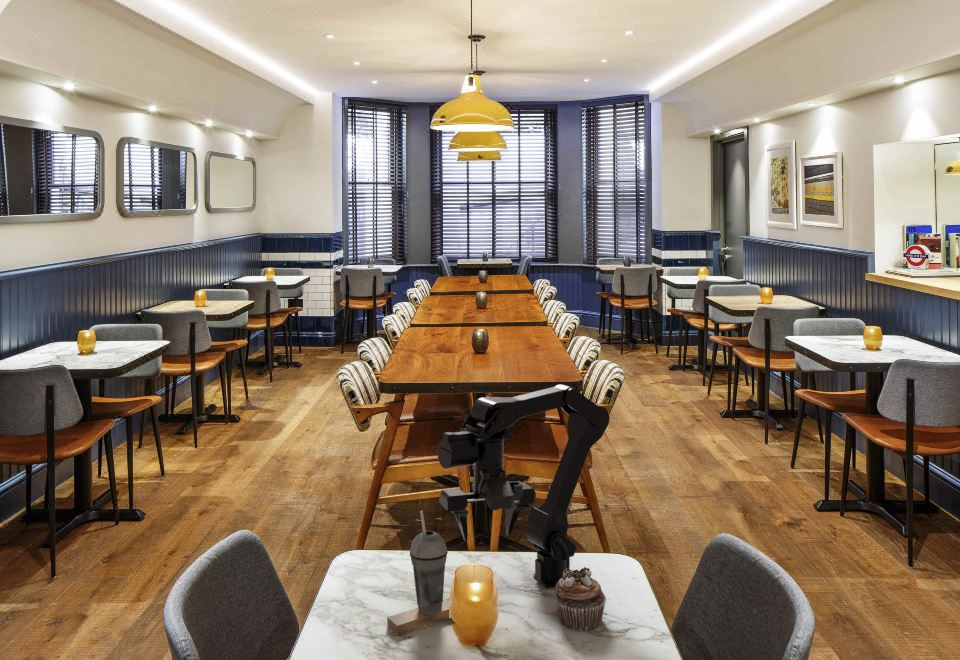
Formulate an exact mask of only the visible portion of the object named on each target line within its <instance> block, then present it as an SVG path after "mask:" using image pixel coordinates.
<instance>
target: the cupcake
mask: <svg viewBox="0 0 960 660" xmlns="http://www.w3.org/2000/svg"><path fill="white" fill-rule="evenodd" d="M592 573H593V572H592V570H590V568H587V567H586V566H584V567H582V568H581V569H579V570H578V569H574V570H572V569H568V568H566V569H565V571H564V572H563V578H561V579H560V580H559V581H558V582H557V584H556V586H555V592H554V599H555V604H556V607H557V608H556V609H557V614H558V616H559V621H560V623H561V625H562V626H563V627H564V628H566V629H568V630H573V631H576V632H577V631H579V632H584V631H585V632H588V631H593V630H595V629H597V628H599V627H600V626H601V624H602V621H603V616H604V610H605V606H606V601H607V596H606V595H605V594H604V592H603V590H602V586H601V584H600V583H599V582H598V580H596V579H594V578H592V577H591V576H592Z"/></svg>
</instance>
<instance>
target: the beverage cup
mask: <svg viewBox="0 0 960 660" xmlns="http://www.w3.org/2000/svg"><path fill="white" fill-rule="evenodd" d="M423 511H424V510H419V514H420V519H421V526H422V532H419V533H418V534H416V536H415V537H414V539H412V543H411V545H410V550H409V556H410V560H411V565H412V570H413V577H414V587H415V595H416V604H417V608H418V609H419V612H420V613H421V614H424V615H434V614H437V613H439V612H440V611H441V610H442V602H443V600H444V599H443V598H444V586H445V585H444V583H445V573H446V571H445V570H446V569H445V568H446V562H447V558H448V557H447V555H448V548H447V544H446V541H445V540H444V537H442V536H441V535H440V533H438V532H436V531H432V530H426V525H425V517H424V512H423Z"/></svg>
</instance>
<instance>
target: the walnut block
mask: <svg viewBox="0 0 960 660" xmlns="http://www.w3.org/2000/svg"><path fill="white" fill-rule="evenodd" d="M450 598H451V597H448V598H445V599H443V602H442V610H441V611H440V612H439V613H437V614H434V615H424V614H421V613H420V612H419V609H418V607H415V608H413V609H409V610H406V611H403V612H399V613H397V614H394V615H389V616H387V617H386V618H387V619H386V620H387V628H388V629H389V630H390V631H391V632H392V633H394V634H395V635H396V636H402V635H405V634H406V633H407V632H408V633H411V632H414V631H416V629H417V630H419V629H423V628H425V626H426V627H429V626H432V625H435V624H437V623H440V622H444V621H446V620H447V621H448V620H449V601H450ZM431 624H432V625H431ZM428 625H429V626H428ZM422 627H423V628H422ZM408 633H407V634H408Z"/></svg>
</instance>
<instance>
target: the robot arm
mask: <svg viewBox="0 0 960 660" xmlns="http://www.w3.org/2000/svg"><path fill="white" fill-rule="evenodd" d="M560 408H561V410H562V411H563V412H565V414H566V415H567V416H568V419H567V423H566V427H567V428H566V429H567V435H568V438H567V439H568V440H567V442H566V445H565V447H564V451H563V452H562V456H561V458H560V461H559V464H558V467H557V469H556V471H555V474H554V477H553V479H552V481H551V485H550V487H549V491H548V493H547V495H546V498H545V501H544V502H543V504H541V505H540V506H539V507H538V508H536V507H535V506H532V508H531V509H530V510H529V516H528V518H527V520H526V522H525V523H524V525H525V526H526V527H525V535H526V538H527V540H528V541H529V542H530V543H531V545H532V547H533V549H536V550H537V551H536V559H535V560H534V571H535V572H534V573H533V578H535V579H536V580H537V581H538V582H539V583H541V584H542V585H543V586H544V587H545V588H552V587H556V584H557V582H558V581H559V580H560V579H561V578H563V572H564V571H565V569H566V568H568V569H570V568H571V567H570V561H571V559H570V558H571V557H574V555H575V552H576V550H577V546H576V544H574V542H572V541H571V540H570V539H569V538H567V534H568V529H569V523H568V522H569V521H568V513H567V512H568V509H569V506H570V503H571V501H572V498H573V496H574V493H575V490H576V488H577V485H578V482H579V479H580V476H581V474H582V472H583V469H584V466H585V463H586V461H587V458H588V455H589V453H590V450H591V448H592V447H593V446H594V445H595V444H596V443H598V441H600V439H601V438H602V437H603V435H604V433H605V431H606V430H607V428H608V426H609V423H610V421H611V419H610V418H611V417H610V414H609V412H608V410H607V408H606V407H604V405H599V404H596V403H595V402H593V401H592V400H590V399H589V398H587V397H586V396H584V395H583V394H581V392H580V391H578V390H577V389H576V388H575V387H573V386H571V385H570V386H569V385H566V384H562V383H561V384H560V383H559V384H557V385H555V386H552V387H548V388H544V389H539V390H535V391H531V392H528V393H524V394H519V395H516V396H511V397H507V396H506V397H503V396H501V397H500V396H489V397H488V396H486V397H485V396H484V397H479V398H477V399H476V400H475V401H474V403H473V405H472V407H471V410H470V412H469V414H468V415H467V417H466V418H465V420H464V422H463V423H462V424H461V426H460V428H459V431H455V432H451V431H448V432H443V434H442V437H443V438H442V439H441V440H440V441H439V443H438V446H437V449H436V454H437V455H436V456H437V459H438V463H439V464H440V466H441V467H442V468H443V469H445V470H447V469H454V468H459V467H467V466H468V467H469V466H472V467H471V468H472V470H473V483H472V484H471V490H473V492H464V491H462V489H460V488H459V487H458V488H457V487H456V488H447V489H442V490H441V491H440V493H439V499H438V500H439V501H438V502H439V504H440V505H441V506H442V507H443V508H444V509H445V510H446V511H447V512H451V513H452V514H453V516H454V518H455V520H456V523H457V524H458V528H459V531H460V532H461V536H462V539H463V541H465V542H467V541H468V535H469V533H468V530H469V529H468V515H469V510H468V509H467V507H468V504H469V503H481V502H482V503H483V502H486V503H487V507H488V509H489V510H492V511H497V510H503V509H505V526H504V527H505V534H506V536H508V537H510V536H511V534H512V532H513V529H514V527H515V523H516V522H517V519H518V517H519V515H520V513H521V512H522V511H523V510H524V509H526V508H529V507H530V504H535V503H536V502H537V497H536V496H537V493H536V490H535V489H534V488H533V487H531V486H530V485H529V484H527V483H526V482H522V481H520V480H516V481H508V480H507V473H506V469H505V468H504V450H505V449H504V442H505V440H513V439H514V436H515V435H514V434H512V433H511V432H510V431H509V430H508V428H509V427H512V426H513V425H514V424H515V423H516V422H517V421H518V420H520V419H522V418H526V417H529V416H530V417H531V416H533V415H536V414H541V413H545V412H547V411H553V410H556V409H560ZM477 426H480V427H481V428H480V427H477ZM482 427H483V428H482ZM570 570H571V569H570Z"/></svg>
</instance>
